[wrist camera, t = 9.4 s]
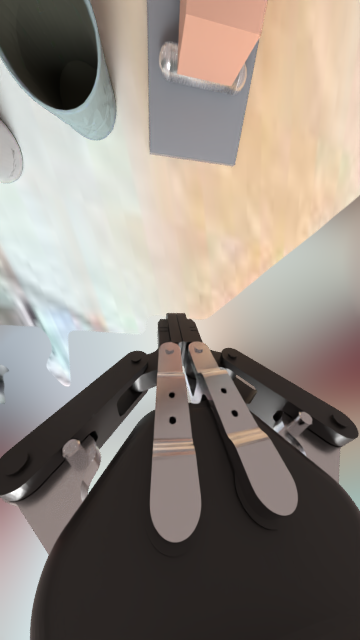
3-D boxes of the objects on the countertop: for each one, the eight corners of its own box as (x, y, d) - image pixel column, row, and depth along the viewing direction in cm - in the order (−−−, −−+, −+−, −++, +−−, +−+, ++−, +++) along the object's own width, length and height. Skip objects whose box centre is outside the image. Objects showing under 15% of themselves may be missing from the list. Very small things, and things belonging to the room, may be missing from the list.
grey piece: (232, 166, 31) (247, 157, 26) (150, 154, 29) (148, 141, 24) (294, -161, 17) (350, -312, 12) (143, -236, 15) (137, -461, 10)
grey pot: (116, 54, 23) (85, -69, 13) (125, 152, 29) (109, 119, 19) (38, 39, 22) (-62, -110, 12) (64, 145, 27) (10, 105, 17)
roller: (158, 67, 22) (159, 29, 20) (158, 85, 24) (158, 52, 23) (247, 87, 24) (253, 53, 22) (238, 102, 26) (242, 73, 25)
